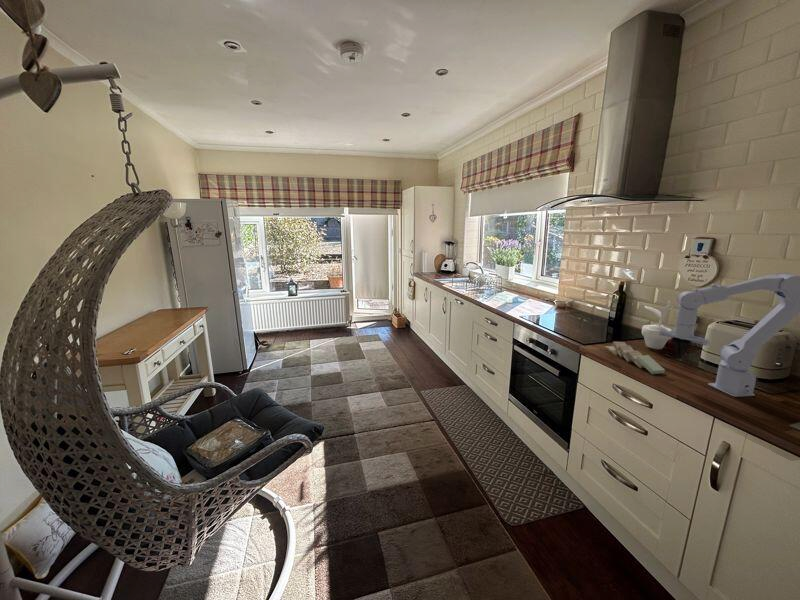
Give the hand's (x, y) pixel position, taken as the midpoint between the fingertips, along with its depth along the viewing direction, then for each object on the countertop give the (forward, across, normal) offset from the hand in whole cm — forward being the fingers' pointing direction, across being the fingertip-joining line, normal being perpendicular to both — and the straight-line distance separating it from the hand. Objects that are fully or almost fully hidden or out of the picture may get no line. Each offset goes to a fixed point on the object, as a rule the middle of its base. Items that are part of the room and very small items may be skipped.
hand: (679, 357), depth 126 cm
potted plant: (+10, +22, -34) cm, 42 cm away
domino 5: (+8, +6, -1) cm, 11 cm away
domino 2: (+8, +21, -9) cm, 25 cm away
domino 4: (+8, +11, -4) cm, 15 cm away
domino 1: (+9, +24, -10) cm, 28 cm away
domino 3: (+8, +17, -6) cm, 20 cm away
